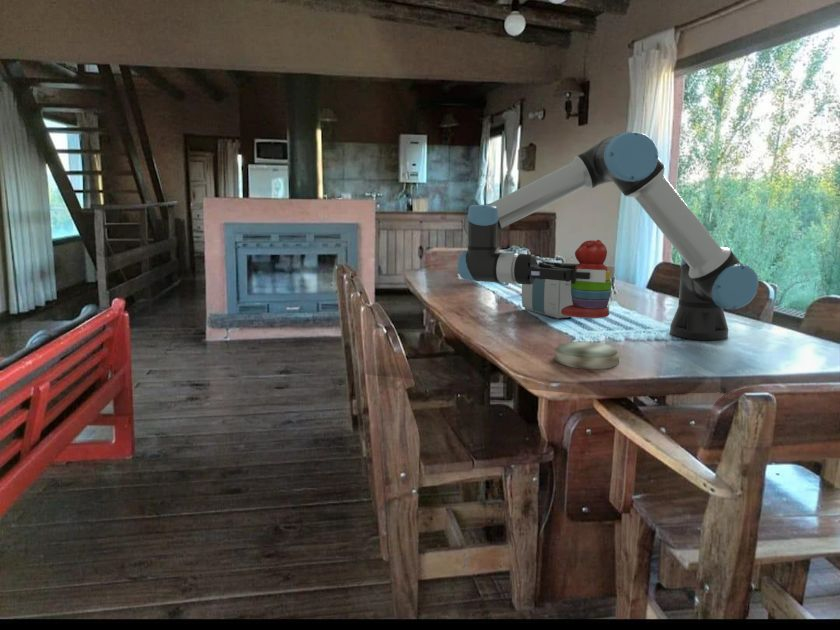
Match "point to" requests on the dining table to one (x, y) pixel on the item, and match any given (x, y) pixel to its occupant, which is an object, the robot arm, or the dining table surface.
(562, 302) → the stereo radio cassette player
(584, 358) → the stand
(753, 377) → the dining table surface
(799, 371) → the dining table surface
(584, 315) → the stacking bear
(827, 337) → the dining table surface
